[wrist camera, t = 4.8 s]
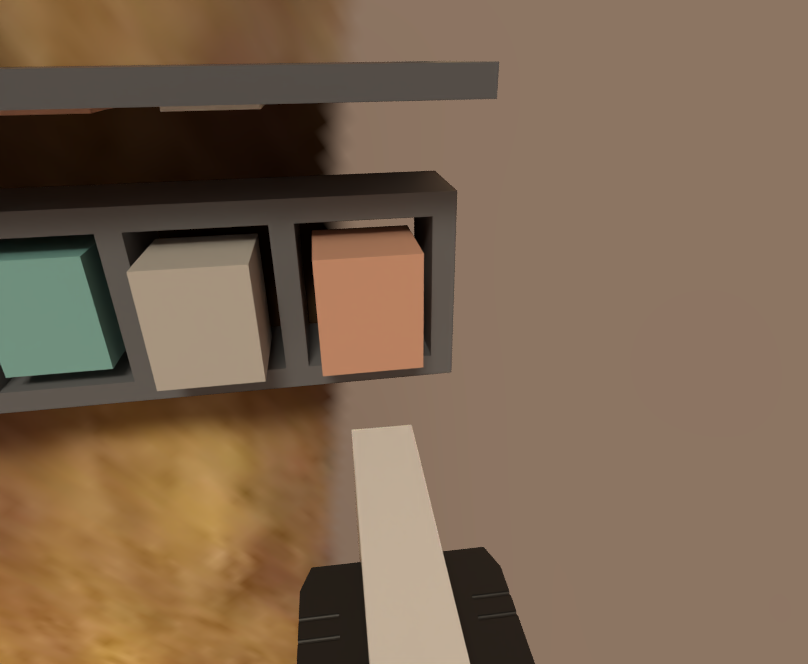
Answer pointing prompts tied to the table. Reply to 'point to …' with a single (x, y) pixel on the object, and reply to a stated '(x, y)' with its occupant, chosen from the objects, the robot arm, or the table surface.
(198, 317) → the grey block
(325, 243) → the key
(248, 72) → the screen
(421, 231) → the key frame
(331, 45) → the table surface
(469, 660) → the robot arm
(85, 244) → the key
